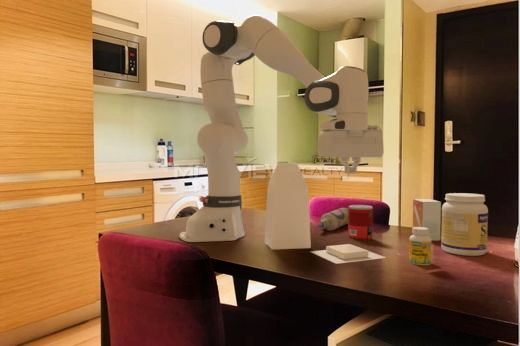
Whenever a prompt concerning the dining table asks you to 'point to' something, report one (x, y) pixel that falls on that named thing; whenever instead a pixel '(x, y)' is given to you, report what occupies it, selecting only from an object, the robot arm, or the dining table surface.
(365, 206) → the canned food
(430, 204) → the small box
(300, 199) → the milk
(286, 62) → the robot arm
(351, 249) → the tile
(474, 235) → the supplement tub
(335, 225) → the decorative bottle
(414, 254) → the supplement bottle
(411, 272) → the dining table surface
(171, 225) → the dining table surface
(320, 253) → the mat
